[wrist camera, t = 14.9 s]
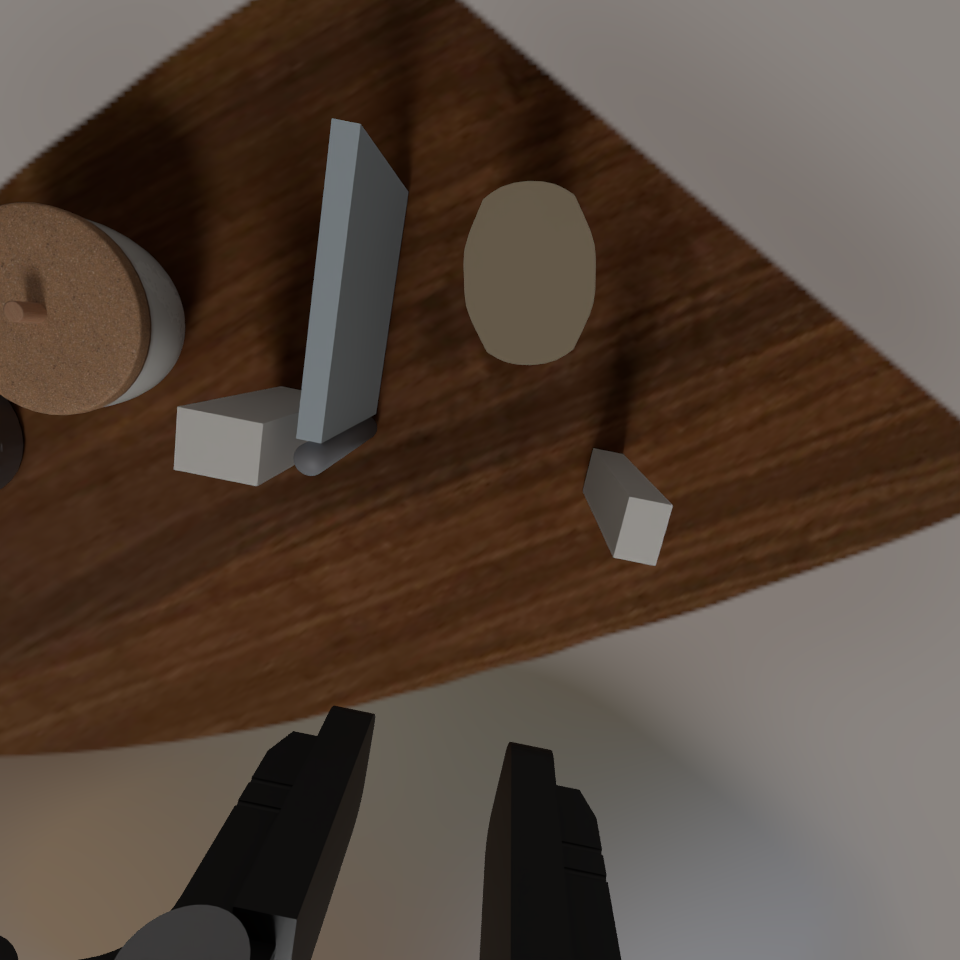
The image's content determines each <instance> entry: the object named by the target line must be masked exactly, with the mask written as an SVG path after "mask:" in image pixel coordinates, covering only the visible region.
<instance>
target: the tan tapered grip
mask: <svg viewBox="0 0 960 960" xmlns="http://www.w3.org/2000/svg"><path fill="white" fill-rule="evenodd" d="M595 271H596V257H595V245H594V241H593V238H592V235H591V231H590V229H589V227H588V224H587V222H586V219H585V217H584V215H583V213H582V210H581V208H580V206H579V204H578V202H577V200H576V197H575V195H573V194H572V193H570V192H569V191H568V190H566V189H564V188H562V187H560V186H558V185H556V184H552V183H547V182H543V181H524V182H517V183H512V184H509V185H506V186H503V187H501V188H499V189H497V190H495V191H494V192H492V193H491V194H489V195H488V196H487V197H486V198H484V199H483V201H482V203H481V206H480V208H479V211H478V213H477V215H476V218H475V220H474V223H473V225H472V228H471V230H470V233H469V236H468V239H467V243H466V246H465V250H464V291H465V301H466V307H467V310H468V313H469V316H470V318H471V321H472V323H473V325H474V327H475V329H476V331H477V333H478V335H479V337H480V339H481V341H482V343H483V345H484V347H485V349H486V351H487V352H488V353H490V354H491V355H493V356H494V357H496V358H498V359H500V360H502V361H504V362H508V363H513V364H519V365H535V364H544V363H547V362H551V361H555V360H557V359H559V358H561V357H562V356H564V355H566V354H567V353H569V352H570V351H572V350H573V349H574V347H575V344H576V342H577V340H578V338H579V336H580V334H581V332H582V330H583V328H584V326H585V324H586V321H587V319H588V317H589V315H590V312H591V308H592V305H593V302H594V294H595Z"/></svg>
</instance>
